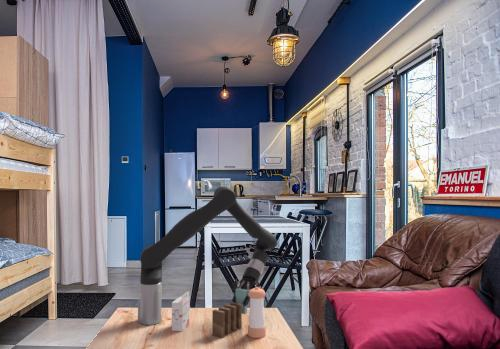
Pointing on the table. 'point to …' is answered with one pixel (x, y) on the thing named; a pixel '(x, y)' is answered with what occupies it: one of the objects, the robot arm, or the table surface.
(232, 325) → the walnut tile
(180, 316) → the ink cartridge box
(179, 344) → the table surface
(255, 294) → the pepper shaker
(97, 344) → the table surface
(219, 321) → the walnut tile
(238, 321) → the walnut tile
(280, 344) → the table surface
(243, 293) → the teal tile
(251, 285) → the robot arm
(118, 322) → the table surface
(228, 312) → the walnut tile
